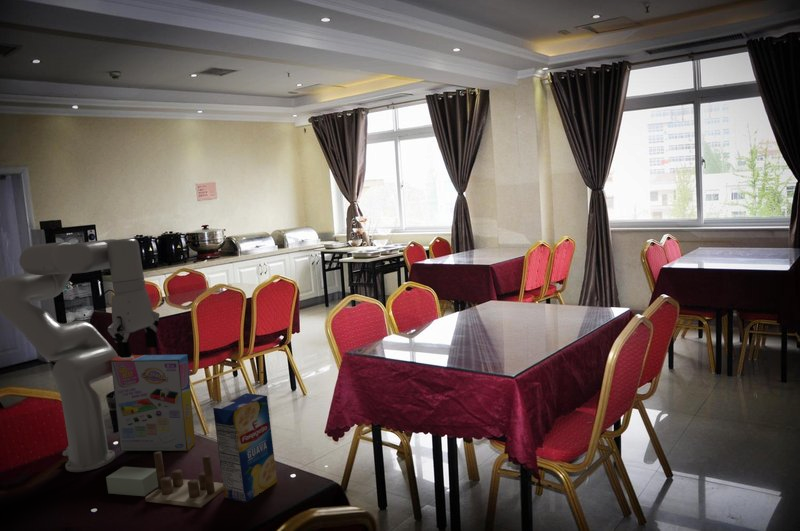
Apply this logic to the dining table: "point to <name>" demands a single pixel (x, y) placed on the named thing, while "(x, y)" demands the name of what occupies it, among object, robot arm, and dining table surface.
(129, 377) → the game box
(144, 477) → the pale green rectangular block
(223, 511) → the dining table surface
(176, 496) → the rack
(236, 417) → the beverage box
